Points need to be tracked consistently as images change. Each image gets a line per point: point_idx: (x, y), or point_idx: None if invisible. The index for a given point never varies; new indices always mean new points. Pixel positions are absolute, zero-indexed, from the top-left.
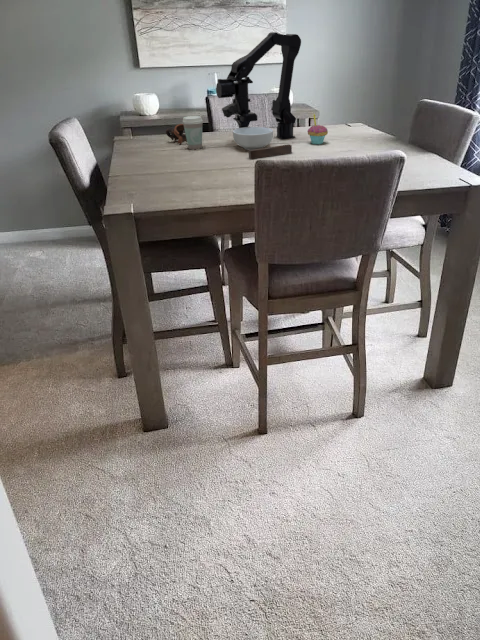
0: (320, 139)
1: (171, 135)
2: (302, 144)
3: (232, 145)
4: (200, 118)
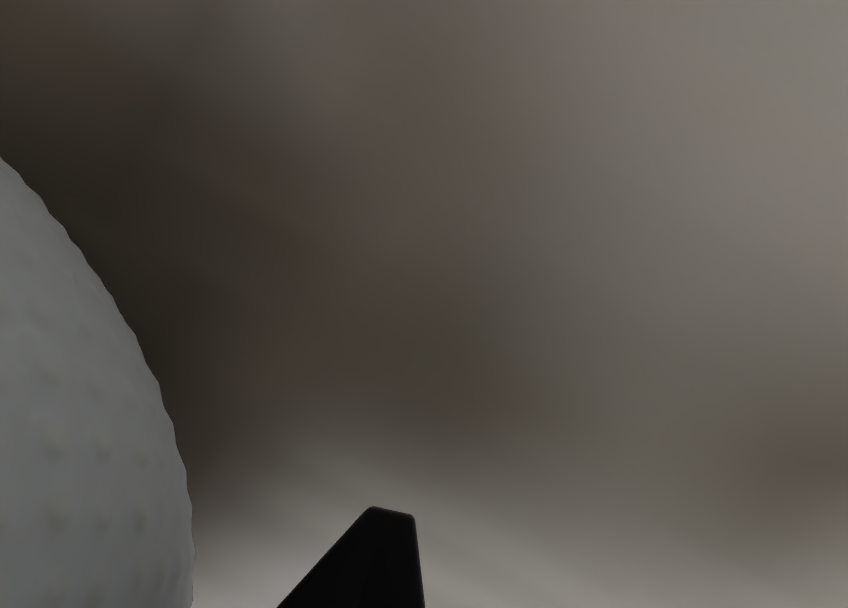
0: None
1: None
2: None
3: (411, 59)
4: None
